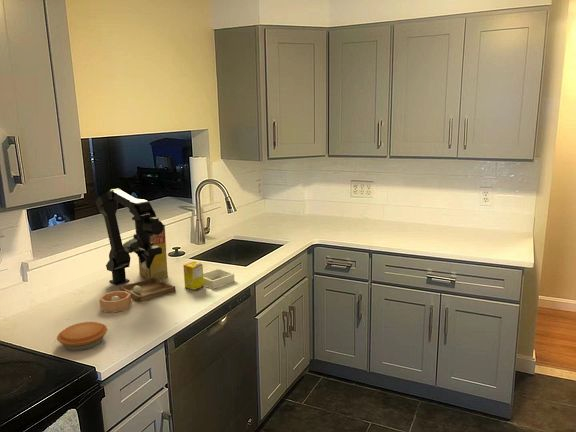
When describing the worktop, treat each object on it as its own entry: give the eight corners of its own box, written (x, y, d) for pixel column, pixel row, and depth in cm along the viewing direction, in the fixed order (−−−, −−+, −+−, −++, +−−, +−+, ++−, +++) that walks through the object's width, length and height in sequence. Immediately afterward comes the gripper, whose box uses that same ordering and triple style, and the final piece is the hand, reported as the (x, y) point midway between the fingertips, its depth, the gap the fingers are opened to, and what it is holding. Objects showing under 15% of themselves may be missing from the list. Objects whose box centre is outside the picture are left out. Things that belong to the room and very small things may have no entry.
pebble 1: (109, 305, 187) (108, 296, 187) (118, 302, 190) (116, 294, 189) (114, 306, 185) (112, 297, 184) (122, 303, 187) (120, 294, 187)
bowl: (96, 307, 187) (95, 296, 186) (122, 299, 195) (121, 288, 194) (109, 315, 180) (108, 304, 179) (136, 306, 188) (135, 295, 187)
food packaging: (169, 276, 220) (165, 224, 215) (149, 281, 215) (145, 227, 209) (157, 269, 231) (153, 219, 225) (138, 273, 225) (134, 222, 219)
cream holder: (196, 282, 212) (196, 275, 212) (219, 275, 221) (218, 268, 221) (212, 289, 205) (212, 281, 204) (235, 281, 213) (234, 273, 213)
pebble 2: (131, 294, 198) (130, 285, 198) (139, 291, 201) (138, 283, 200) (135, 296, 196) (135, 288, 195) (143, 293, 199) (142, 285, 198)
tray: (120, 292, 202) (119, 287, 202) (154, 282, 214) (153, 277, 213) (141, 303, 191) (140, 297, 190) (175, 291, 202) (175, 286, 201)
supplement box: (195, 284, 210) (193, 261, 208) (204, 287, 206) (202, 263, 204) (184, 288, 206) (182, 264, 203) (193, 291, 202) (192, 267, 199)
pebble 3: (140, 269, 200) (139, 261, 199) (147, 267, 202) (147, 259, 201) (144, 271, 197) (143, 263, 196) (152, 269, 200) (151, 261, 199)
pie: (112, 330, 168) (111, 317, 167) (102, 351, 153) (101, 337, 152) (66, 333, 165) (64, 320, 164) (51, 356, 150) (49, 341, 149)
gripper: (113, 231, 197) (117, 267, 200) (136, 239, 184) (140, 277, 188) (138, 226, 205) (141, 261, 208) (161, 233, 192) (164, 270, 195)
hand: (146, 267), depth 200 cm, fingers closed on pebble 3, 4 cm apart
